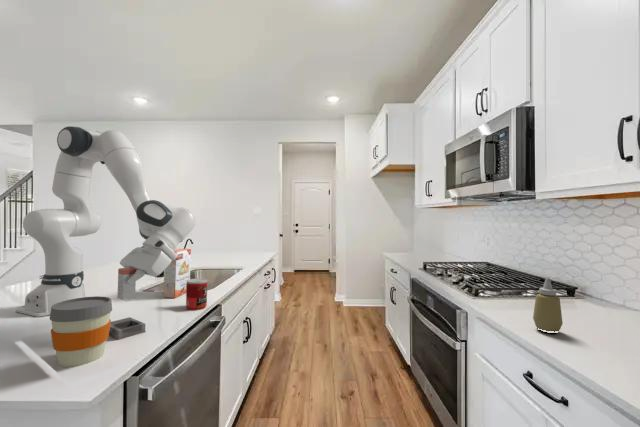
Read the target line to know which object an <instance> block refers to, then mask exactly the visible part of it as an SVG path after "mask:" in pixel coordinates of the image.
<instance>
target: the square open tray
mask: <svg viewBox="0 0 640 427" xmlns="http://www.w3.org/2000/svg"><path fill="white" fill-rule="evenodd" d="M146 332H147V331H146V323H145V322H142V321H140V320H137V319H136V318H133V319H131V320H127V321H123V322H119V323H115V324H111V325H110V330H109V336H110V337H111V338H113V339H115V340H117V341H120V340H124V339H127V338H130V337H134V336H137V335H141V334H144V333H146ZM109 336H108V337H109Z"/></svg>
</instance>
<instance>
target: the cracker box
mask: <svg viewBox="0 0 640 427" xmlns="http://www.w3.org/2000/svg"><path fill="white" fill-rule="evenodd" d="M174 252H175V253H176V254H177V255H178V256H177V258H176V259H175V260H172V261H171V263H170V264H169V265H168V267H167V268H166V269H165V270H164V271H163V298H164V299H166V298H167V299H176V298H178V297H180V296H181V294H182V293H184V294H186V284H187V280H190V279H191V264H192V262H191V261H192V260H191V259H192V258H191V257H192V254H191V253H192V249H191V248H178V249H177V248H176V249H175V250H174ZM182 295H183V294H182Z"/></svg>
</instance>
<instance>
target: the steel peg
mask: <svg viewBox="0 0 640 427" xmlns="http://www.w3.org/2000/svg"><path fill="white" fill-rule="evenodd" d="M135 273H136V268H132V267H128V268H124V267H122V268H121V267H120V268H118V270H117V299H119V300H130V299H133V298H134V299H135V298H136V282H137V281H135V282H134V284H132V285H130V284H128V283H127V282H126V280H127V279H128V278H129V277H131V276H133V275H134V274H135Z"/></svg>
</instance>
